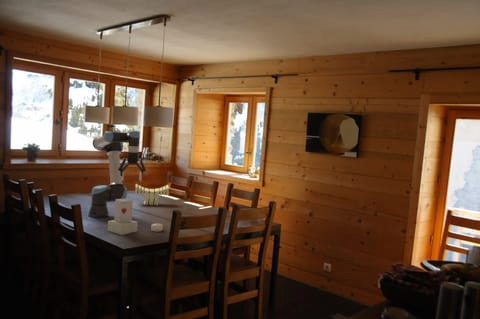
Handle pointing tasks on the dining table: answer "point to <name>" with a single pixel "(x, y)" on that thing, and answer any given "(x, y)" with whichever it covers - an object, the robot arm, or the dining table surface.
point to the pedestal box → (122, 227)
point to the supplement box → (123, 210)
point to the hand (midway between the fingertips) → (131, 180)
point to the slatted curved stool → (151, 194)
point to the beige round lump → (156, 227)
